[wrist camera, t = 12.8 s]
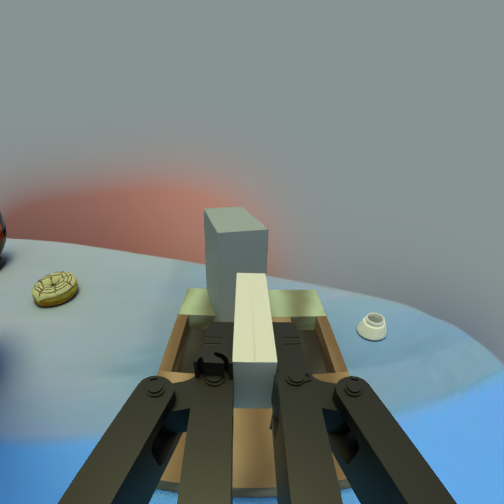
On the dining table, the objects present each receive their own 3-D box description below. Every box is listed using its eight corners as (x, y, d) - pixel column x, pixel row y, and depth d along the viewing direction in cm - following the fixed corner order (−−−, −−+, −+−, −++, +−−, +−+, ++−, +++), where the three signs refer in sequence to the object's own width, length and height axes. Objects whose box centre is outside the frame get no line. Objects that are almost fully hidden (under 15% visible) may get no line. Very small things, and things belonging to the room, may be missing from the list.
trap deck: (137, 484, 18) (128, 473, 17) (189, 302, 50) (187, 288, 48) (370, 483, 18) (381, 471, 17) (313, 304, 50) (315, 289, 49)
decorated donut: (33, 293, 48) (28, 277, 47) (74, 280, 55) (70, 264, 54) (37, 315, 41) (31, 298, 40) (84, 299, 48) (79, 282, 47)
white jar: (381, 346, 39) (388, 329, 43) (386, 330, 38) (392, 314, 42) (352, 336, 41) (361, 321, 45) (356, 321, 40) (365, 306, 44)
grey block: (220, 333, 37) (217, 233, 32) (207, 290, 48) (203, 208, 43) (263, 326, 39) (268, 229, 34) (241, 286, 50) (242, 206, 44)
